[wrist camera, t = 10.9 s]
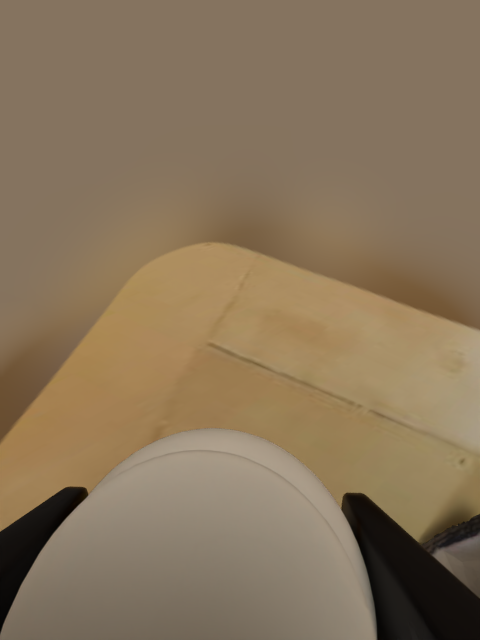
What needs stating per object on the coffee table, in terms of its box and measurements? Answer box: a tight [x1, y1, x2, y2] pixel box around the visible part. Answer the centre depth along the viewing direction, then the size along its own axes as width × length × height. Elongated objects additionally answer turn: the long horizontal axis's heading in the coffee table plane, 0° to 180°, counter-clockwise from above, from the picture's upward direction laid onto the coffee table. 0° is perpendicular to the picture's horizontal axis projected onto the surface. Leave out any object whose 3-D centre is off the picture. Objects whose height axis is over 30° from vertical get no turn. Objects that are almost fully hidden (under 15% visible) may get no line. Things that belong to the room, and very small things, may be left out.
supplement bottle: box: [0, 428, 377, 640], centre depth 8 cm, size 6×6×10 cm
